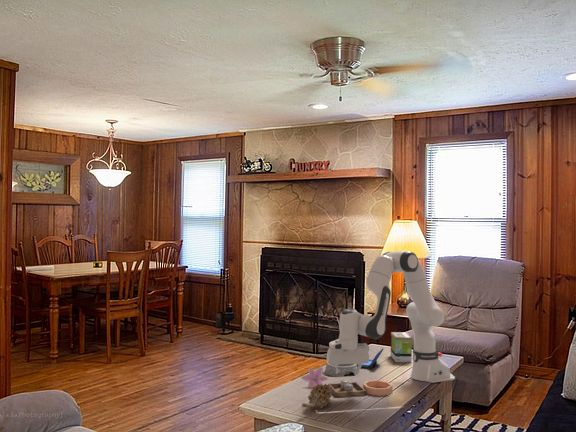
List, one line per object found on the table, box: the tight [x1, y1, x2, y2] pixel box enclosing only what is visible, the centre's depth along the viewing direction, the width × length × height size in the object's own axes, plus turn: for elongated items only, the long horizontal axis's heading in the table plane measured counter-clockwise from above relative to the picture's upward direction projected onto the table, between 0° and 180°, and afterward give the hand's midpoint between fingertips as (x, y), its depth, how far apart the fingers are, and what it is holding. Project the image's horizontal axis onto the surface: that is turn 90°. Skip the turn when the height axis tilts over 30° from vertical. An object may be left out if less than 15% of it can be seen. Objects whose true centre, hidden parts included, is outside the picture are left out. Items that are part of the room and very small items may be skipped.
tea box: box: [390, 331, 413, 363], centre depth 313 cm, size 15×10×15 cm
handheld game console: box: [357, 348, 384, 370], centre depth 299 cm, size 16×13×9 cm
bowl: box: [362, 379, 394, 397], centre depth 251 cm, size 13×13×4 cm
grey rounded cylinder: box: [344, 384, 353, 392], centre depth 247 cm, size 4×4×4 cm
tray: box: [327, 381, 367, 398], centre depth 250 cm, size 15×14×3 cm
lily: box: [300, 365, 329, 389], centre depth 259 cm, size 12×12×10 cm
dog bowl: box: [324, 361, 359, 378], centre depth 285 cm, size 17×18×5 cm
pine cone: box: [301, 383, 333, 410], centre depth 228 cm, size 22×10×10 cm, turn 153°
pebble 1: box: [340, 379, 350, 391], centre depth 253 cm, size 4×4×4 cm
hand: (347, 373), depth 248 cm, fingers open, 8 cm apart
